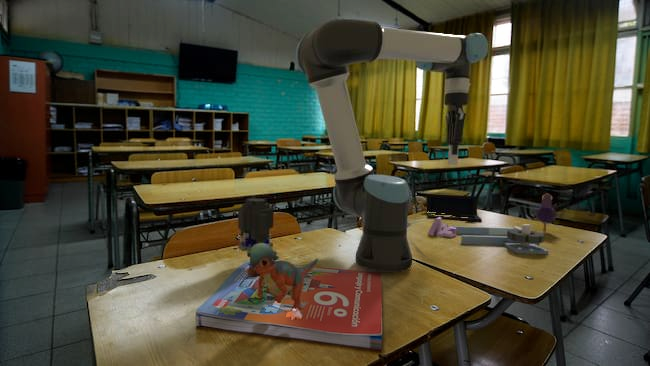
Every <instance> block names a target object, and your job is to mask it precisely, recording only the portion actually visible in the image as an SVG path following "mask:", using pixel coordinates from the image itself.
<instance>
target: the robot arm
mask: <svg viewBox="0 0 650 366" xmlns="http://www.w3.org/2000/svg"><path fill="white" fill-rule="evenodd" d="M488 51H489V43H488V40H487V38H486V36H485V35H484V34H482V33H479V32H475V33H470V34H468V35H458V34H457V35H456V34H455V35H454V34H446V33H445V34H444V33H437V32H429V31H428V32H427V31H420V30H411V29H410V30H409V29H402V28H393V27H385V26H382V25H381V24H380V23H379V22H378V21H373V20H365V19H364V20H363V19H354V18H334V19H330V20H327V21H325V22H324V23H322V24H321V25H319V26H318V27H316V28H314V29H313V30H311V31H309V32H307V33H306V34H305V35H304V36H302V38H301V39H300V41H299V42H298V44H297V46H296V49H295V60H296V66H297V67H298V69H299V70H300V71H301V72H302V73H303V74H305V76H306V78H307V81H308V85H309V86H310V87H311V88H312V89H315V91H316V94H317V98H318V103H319V106H320V109H321V114H322V117H323V122H324V125H325V129H326V132H327V135H328V140H329V144H330V146H331V147H330V148H331V151H332V155H333V159H334V162H335V166H336V173H335V174H334V176H333V178H334V179H333V180H334V182H335V183H334V187H333V190H332V196H333V200H334V203H335V205H336V206H337V207H338V208H339V209H340V210H341V211H342V212H344V213H345V214H348V215H350V216H354V217H357V218H361V219H362V221H363V223H362V235H361V238H360V239H359V243H358V247H357V249H356V252H355V260H354V261H356V262H355V264H356V263H357V264H358V266H359V267H361V268H364V269H366V270H370V271H375V270H376V272H387V273H389V272H390V273H391V272H393V273H394V271H396V272H402V271H401V270H404V271H407V270H409V269H411V268H412V267H411V265H412V266H413V256H412V250H411V247H410V244H409V240H408V236H407V232H408V230H407V229H408V227H407V222H408V220H409V219H408V218H409V217H408V216H409V215H408V214H409V212H408V202H409V189H410V187H409V184H408V182H407V181H406V180H405V179H403V178H400V177H397V176H394V175H387V174H375V173H374V169H373V166H371V165H369V164H368V163H367V162H366V159H365V156H364V155H365V154H364V150H363V146H362V143H361V139H360V138H361V137H360V135H359V130H358V126H357V122H356V119H355V118H356V117H355V114H354V111H353V106H352V101H351V98H350V94H349V90H348V85H347V79H348V78H349V76H350V71H349V65H354V64H359V63H374V62H376V61H377V60H378V59H379V60H394V61H396V60H399V61H411V62H415V66H416V67H417V69H419V70H420V71H421V70H422V71H425V72H434V73H443V74H445V80H444V81H445V83H444V92H445V94H444V100H443V101H444V105H445V106H447V107H449V109H448V112H447V115H446V116H445V119H446V143H447V144H448V158H447V165H448V166H449V165H451V166H455V165H456V166H457V165H458V164H459V146H460V144H461V143H462V141H463V134H464V126H465V119H466V115H467V113H466V112H464V108H463V107H464V106H468V104H469V97H470V94H469V93H468V92H469V91H470V87H471V84H472V83H470V81H471V78H470V77H471V66H472V64H475V63H476V62H480V61H482V60H484V59H485V58H486V56H487V54H488ZM408 187H409V188H408ZM410 267H411V268H410ZM408 268H409V269H408ZM406 269H407V270H406Z"/></svg>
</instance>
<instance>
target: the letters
mask: <svg viewBox="0 0 650 366" xmlns="http://www.w3.org/2000/svg"><path fill="white" fill-rule="evenodd" d="M442 221H443V219H442V218H435V219H434V220H433V223H432V224H431V226H430V228H429V231H428V232H427V235H428V236H432V237H434V236H436V237H438V238H454V237H456V236H457V234H456V230H457V228H452V227H448V226H449V224H448V223H447V222H442Z"/></svg>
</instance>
